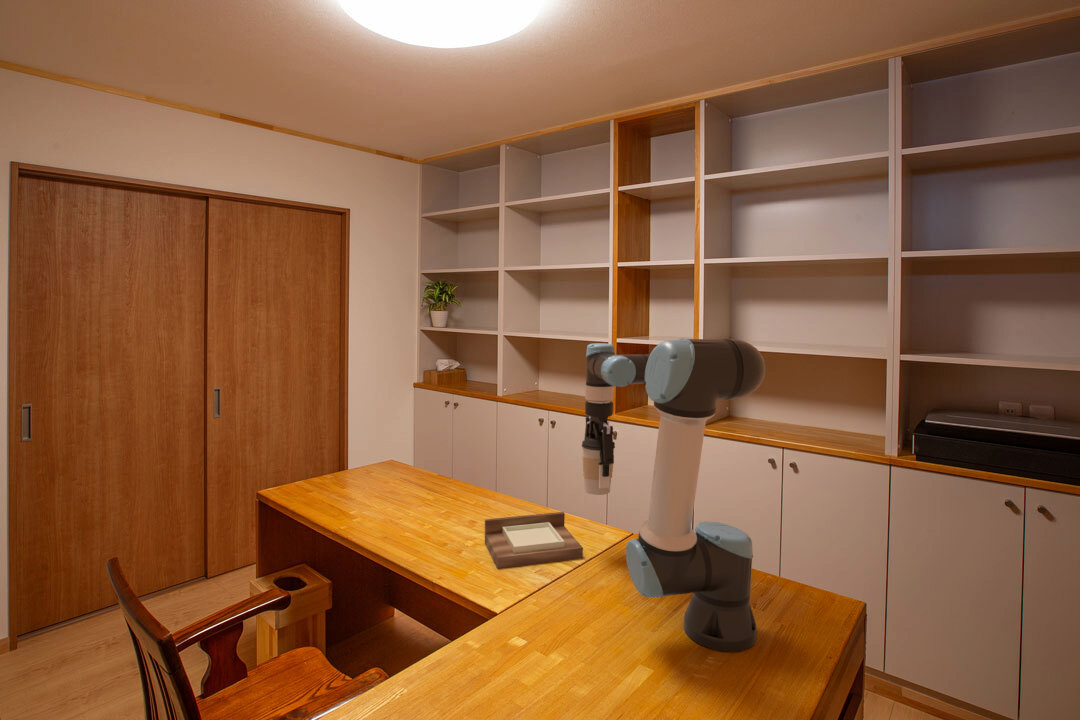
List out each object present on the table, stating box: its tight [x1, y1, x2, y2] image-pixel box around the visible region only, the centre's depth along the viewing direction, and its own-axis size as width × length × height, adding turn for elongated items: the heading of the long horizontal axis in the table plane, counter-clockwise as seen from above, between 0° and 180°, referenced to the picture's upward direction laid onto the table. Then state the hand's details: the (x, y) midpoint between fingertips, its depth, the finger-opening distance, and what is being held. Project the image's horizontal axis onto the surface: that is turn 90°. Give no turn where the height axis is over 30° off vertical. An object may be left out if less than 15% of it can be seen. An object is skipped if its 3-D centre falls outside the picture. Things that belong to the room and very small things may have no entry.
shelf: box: [484, 511, 584, 569], centre depth 169 cm, size 17×24×7 cm
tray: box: [502, 522, 564, 553], centre depth 169 cm, size 14×14×2 cm
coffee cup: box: [581, 436, 616, 496], centre depth 163 cm, size 9×9×15 cm
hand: (597, 482), depth 164 cm, fingers closed on coffee cup, 8 cm apart
